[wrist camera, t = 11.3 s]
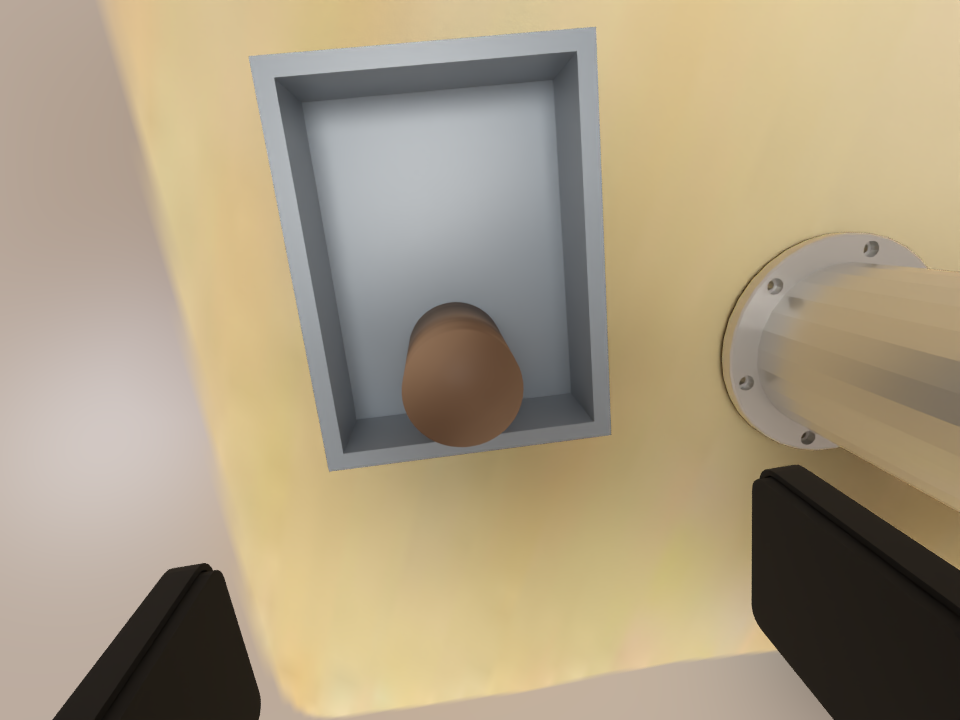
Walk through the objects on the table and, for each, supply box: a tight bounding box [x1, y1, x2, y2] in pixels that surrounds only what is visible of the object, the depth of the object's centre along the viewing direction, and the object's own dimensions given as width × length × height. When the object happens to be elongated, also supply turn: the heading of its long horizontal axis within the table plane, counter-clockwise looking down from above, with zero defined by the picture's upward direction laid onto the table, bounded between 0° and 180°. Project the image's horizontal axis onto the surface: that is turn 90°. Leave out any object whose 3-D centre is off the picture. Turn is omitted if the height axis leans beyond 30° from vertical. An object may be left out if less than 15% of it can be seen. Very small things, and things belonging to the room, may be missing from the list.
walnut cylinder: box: [402, 302, 524, 447], centre depth 25 cm, size 5×5×7 cm
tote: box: [249, 27, 611, 471], centre depth 25 cm, size 18×14×5 cm
